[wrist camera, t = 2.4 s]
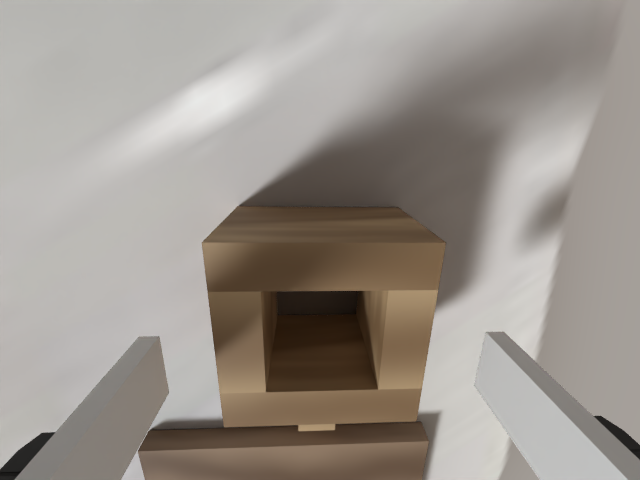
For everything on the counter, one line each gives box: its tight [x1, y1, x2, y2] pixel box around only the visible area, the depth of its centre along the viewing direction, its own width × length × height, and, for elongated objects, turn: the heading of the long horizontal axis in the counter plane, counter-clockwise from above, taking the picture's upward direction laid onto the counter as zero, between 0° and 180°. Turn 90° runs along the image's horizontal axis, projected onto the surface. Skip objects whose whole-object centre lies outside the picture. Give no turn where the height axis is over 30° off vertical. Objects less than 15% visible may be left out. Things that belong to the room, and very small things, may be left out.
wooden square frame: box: [202, 206, 446, 431], centre depth 16 cm, size 14×9×6 cm, turn 179°
